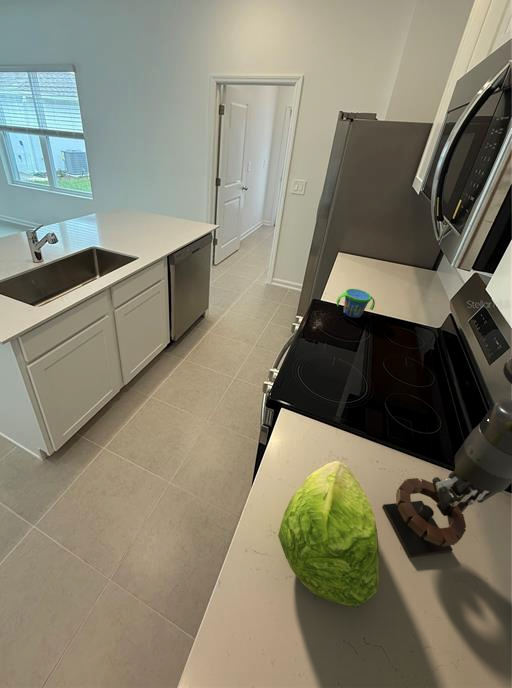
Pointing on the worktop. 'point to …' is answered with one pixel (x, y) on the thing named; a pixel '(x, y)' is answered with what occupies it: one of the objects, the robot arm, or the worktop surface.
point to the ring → (419, 524)
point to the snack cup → (355, 302)
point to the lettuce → (332, 537)
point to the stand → (409, 537)
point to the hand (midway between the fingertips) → (448, 509)
